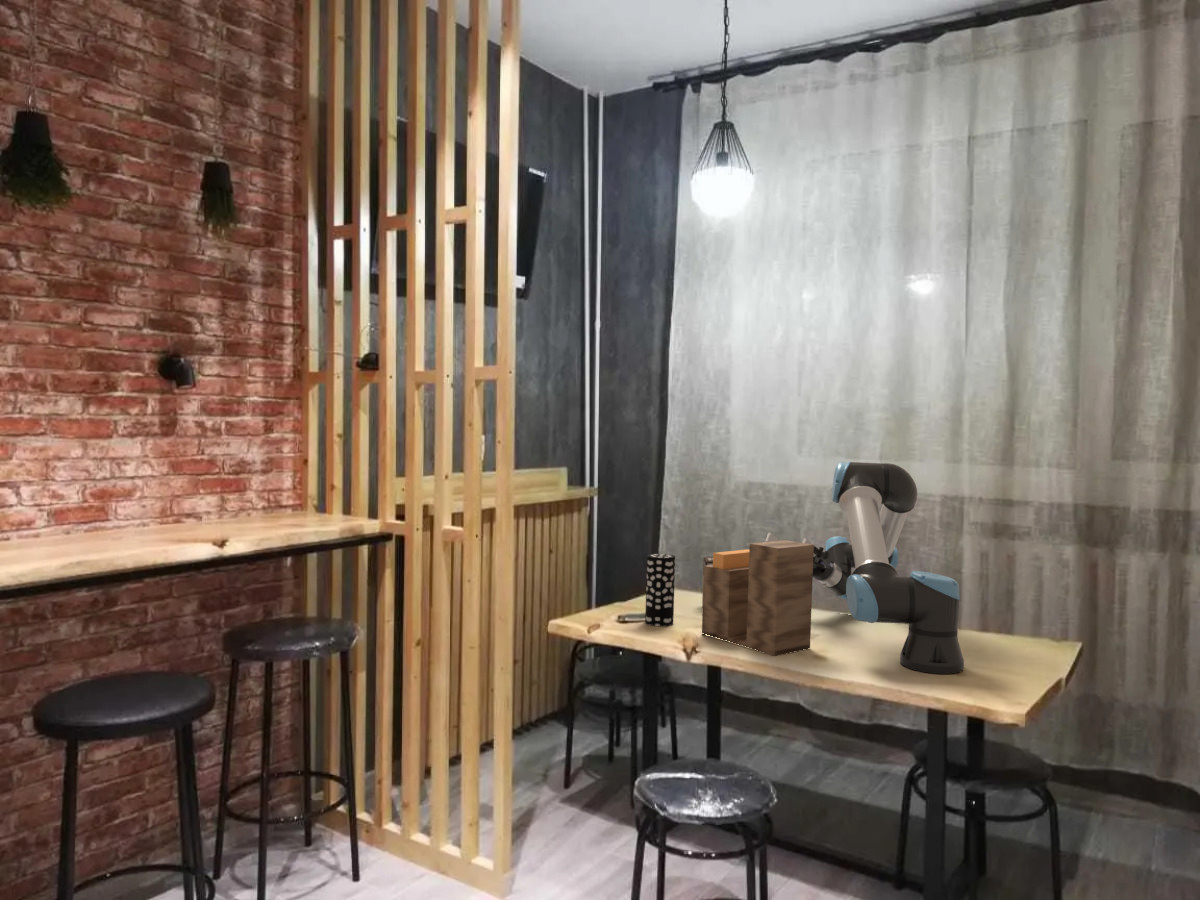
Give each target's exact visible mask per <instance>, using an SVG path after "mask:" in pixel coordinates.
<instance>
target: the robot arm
mask: <svg viewBox="0 0 1200 900" xmlns="http://www.w3.org/2000/svg"><path fill="white" fill-rule="evenodd" d="M831 500H832V502H834V503H836V504H839V507H840V510H842V511H843V513H845V514H846V518H847V523H848V524H847V525H848V530H849V536H850V542H849V539H847V538H846V537H843V536H841V535H836V536H832V537H830V538H828V539H827V540H826V541H825V551H824V547H822V546H819V547H817V546H816V545H815V544H814V543H812V542H811V541H810V540H809V539H807V538H806V537H804V538H803V540H802V542H801V543H806V544H812V545H814V551H813V578H814V579H815V580H817V581H818V582H819V583H820V584H822V587H824V588H827V589H828V590H829V591H830V592H831V593H833V594H834V596H835V597H838V598H840V599H842V600H846V604H847V607H848V610H849V612H850V615H851V616H852V618H853V619H854V620H855V621H858V622H864V623H871V624H874V623H878V624H879V623H881V624H883V623H884V624H900V625H901V624H902V625H903V624H905V625H908V631H907V632H908V633H907V636H906V639H905V641H904V644H903V646H902V649H901V652H900V657H899V662H900V664H901V665H902V666H903V667H905V668H908V669H910V670H912V671H913V670H914V671H917V672H922V673H929V674H937V673H938V674H939V675H941V674H944V675H951V674H950V673H953V674H958V673H957V672H959V673H961V672H963V671H964V670H963V669H965V667H964V666H965V663H964V662H965V661H964V660H965V659H964V656H963V653H962V650H961V646H960V642H959V638H958V631H959V630H958V628H959V610H960V608H959V607H960V600H961V597H960V585H959V582H958V581H956V579H953V578H952V577H949V576H947V575H946V576H945V575H943V574H938V573H933V572H927V571H922V570H921V571H919V570H912V571H911V572H910V574H909V577H908V576H907V577H906V576H905V577H904V576H898V572H897V569H896V568H897V567H898V563H899V552H898V551H899V550H898V548H897V542H898V541H899V538H900V535H901V531H902V530H903V527H904V525H905V522H906V519H907V516H908V514H909V513H910V512H911V511H912V510H913V509H914V508H915V506H916V503H917V500H918V488H917V485H916V482H915V480H914V478H913V477H912V476H911V474H910V473H909V472H908V471H907V470H905V469H904V468H903V467H901V466H900V465H897V464H893V463H886V462H885V463H883V462H882V463H881V462H880V463H878V462H877V463H876V462H857V461H856V462H855V461H848V462H847V461H846V462H839V463H837V464H836V466H835V468H834V473H833V479H832V488H831ZM881 505H882V506H881ZM879 508H881V509H880V511H879ZM770 541H780V539H779V538H778V537H777V536H776V535H774V534H772V533H771V532H768V533H767V536H766V539H765V541H764V542H770ZM850 543H851V544H850ZM852 569H853V571H852ZM962 670H963V671H962ZM960 671H961V672H960Z"/></svg>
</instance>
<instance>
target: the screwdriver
mask: <svg viewBox="0 0 1200 900" xmlns="http://www.w3.org/2000/svg"><path fill="white" fill-rule="evenodd" d="M712 557H713V567H715V568H719V569H730V568H738V567H747V566H749V548H747V549H739V550H728V551H719V552H718V551H716V552H713V553H712Z"/></svg>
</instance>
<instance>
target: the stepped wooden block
mask: <svg viewBox="0 0 1200 900" xmlns="http://www.w3.org/2000/svg"><path fill="white" fill-rule="evenodd" d="M779 540H780V539H779ZM812 544H813V543H812ZM812 544H806V543H802V542H799V541H793V540H787V539H782V540H780V541H770V542H766V541H762V542H760V541H759V542H753V543H752V542H751V543H749V548H748V549H749V566H747V567H738V568H730V569H719V568H715V567H713V565H706V566H704V580H703V579H702V596H703V606H702V618H701V619H702V621H701V622H702V623H701V634H702V633H704V634H707V635H710V636H713V637H717V638H720V639H723V640H727V641H730V642H733V643H736V644H739V645H743V646H746V647H749V648H752V649H756V650H758V651H757V652H759V651H761V652H760V653H762V652H764V653H763V654H766V653H767V654H766V655H769V654H770V656H772V655H773V657H776V656H777V657H778V656H783V655H787V654H790V652H792V653H795V652H794V651H797V652H800V651H799V650H802V651H804V650H803V649H806V650H809V649H808V648H810V649H811V630H812V607H813V606H812V605H813V603H812V602H813V601H812V600H813V578H814V577H813V551H814V545H815V544H814V545H812ZM739 645H738V646H739ZM746 647H745V648H746ZM749 648H748V649H749ZM752 649H751V650H752ZM756 650H755V651H756ZM786 653H787V654H786ZM782 654H783V655H782Z"/></svg>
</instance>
